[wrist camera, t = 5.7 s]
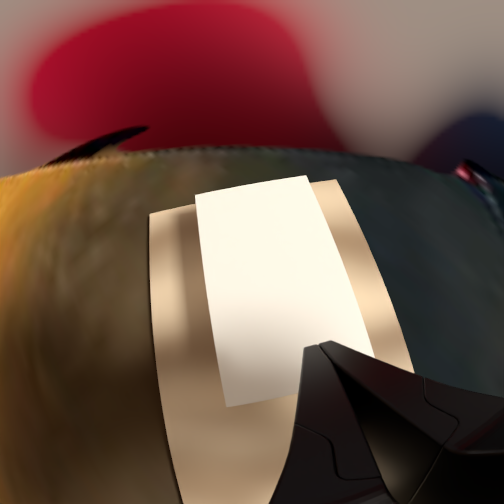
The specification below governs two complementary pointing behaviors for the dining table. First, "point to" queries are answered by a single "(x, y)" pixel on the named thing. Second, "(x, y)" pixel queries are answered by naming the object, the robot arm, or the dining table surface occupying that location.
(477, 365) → the dining table surface
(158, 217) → the mat
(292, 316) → the card box
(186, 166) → the dining table surface
